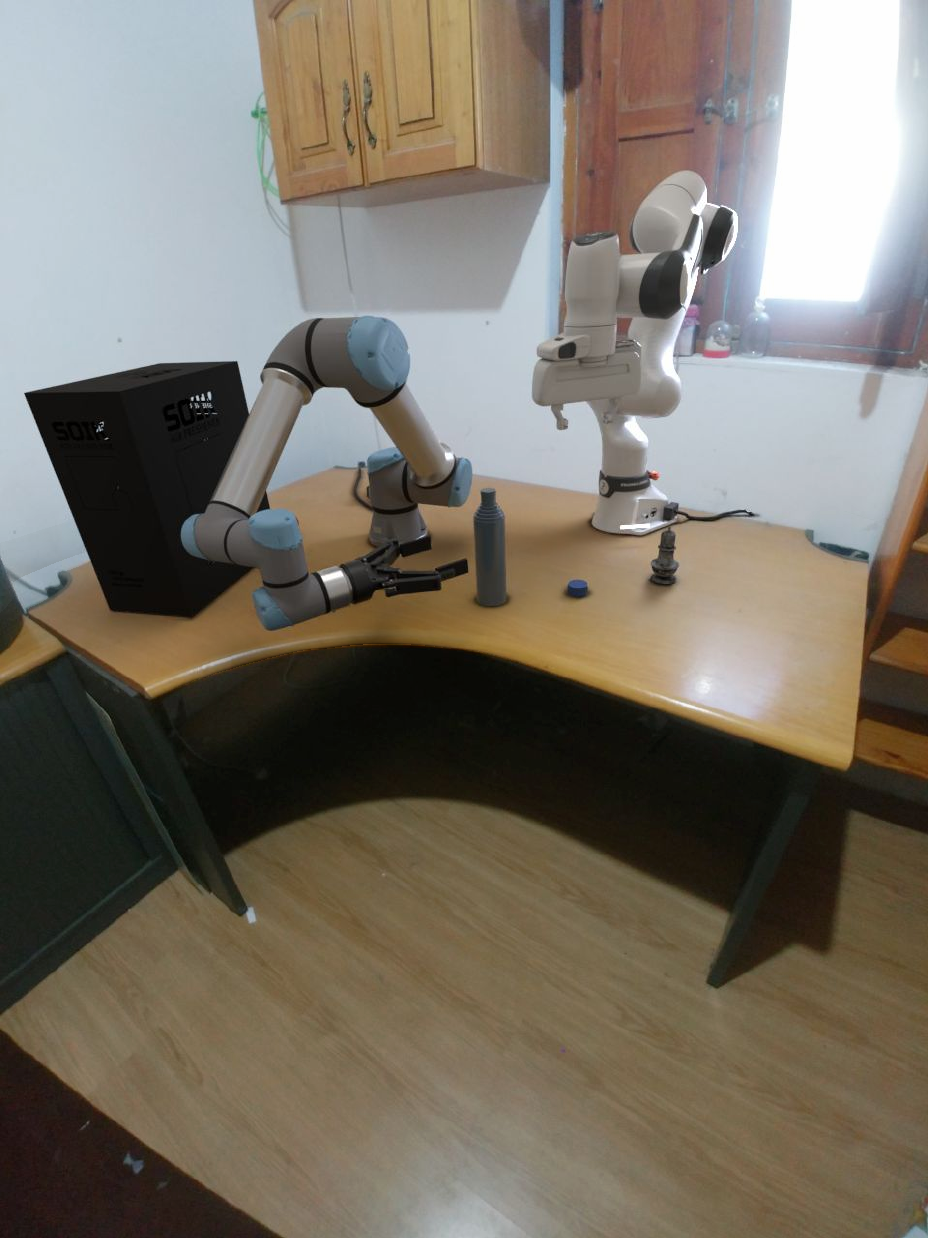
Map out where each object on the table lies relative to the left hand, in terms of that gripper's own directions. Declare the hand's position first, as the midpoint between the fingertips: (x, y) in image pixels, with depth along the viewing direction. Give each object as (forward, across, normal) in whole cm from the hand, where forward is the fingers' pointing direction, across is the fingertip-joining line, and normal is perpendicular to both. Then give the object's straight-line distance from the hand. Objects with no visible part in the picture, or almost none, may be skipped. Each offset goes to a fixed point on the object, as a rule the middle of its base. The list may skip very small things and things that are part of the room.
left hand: (448, 553), depth 115 cm
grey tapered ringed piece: (+44, +15, -14) cm, 49 cm away
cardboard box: (-38, -52, -13) cm, 66 cm away
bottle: (+10, 0, -14) cm, 17 cm away
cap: (+26, +8, -12) cm, 30 cm away
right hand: (+26, +8, +21) cm, 34 cm away
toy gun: (+28, -76, -14) cm, 82 cm away
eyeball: (-13, -65, -14) cm, 68 cm away
